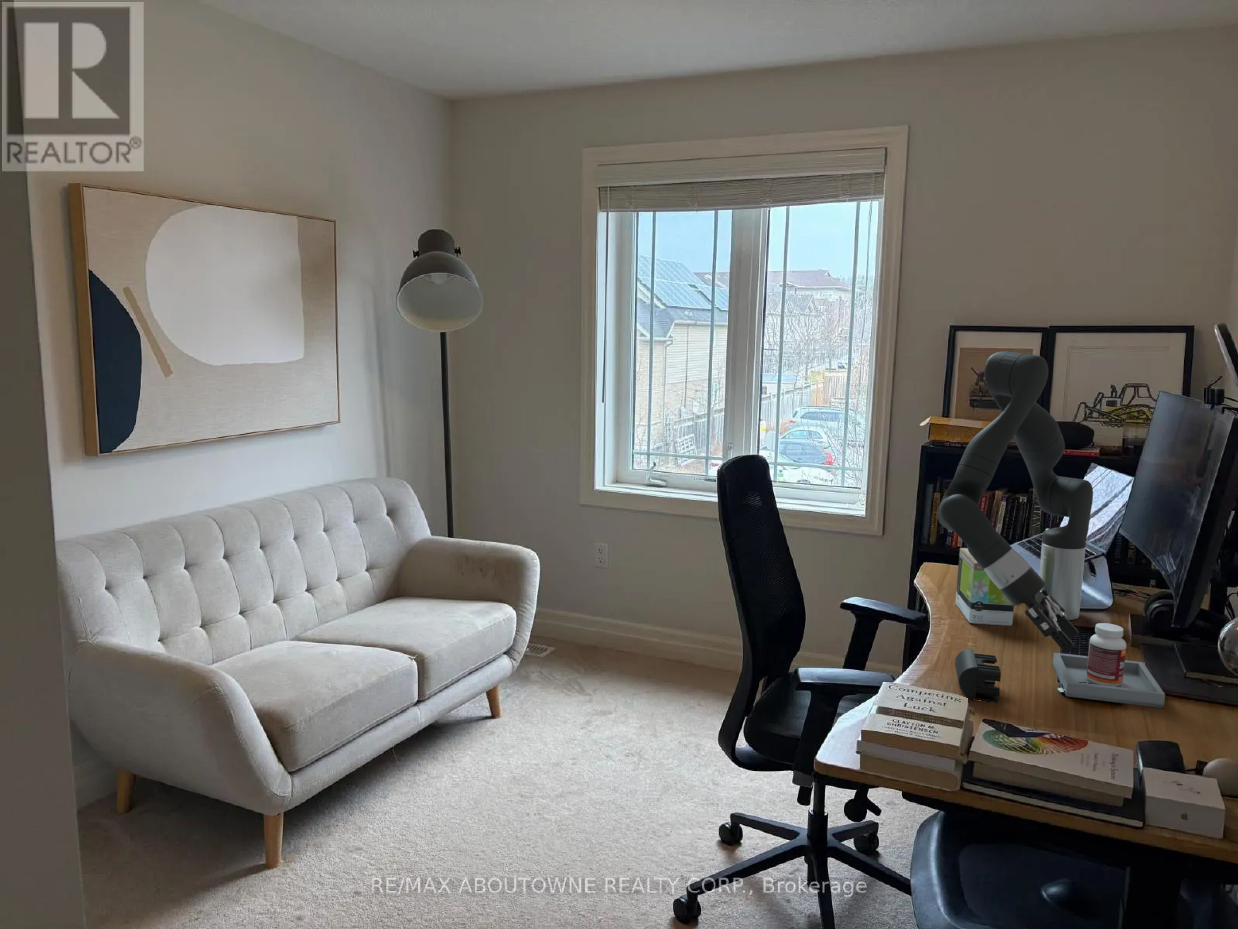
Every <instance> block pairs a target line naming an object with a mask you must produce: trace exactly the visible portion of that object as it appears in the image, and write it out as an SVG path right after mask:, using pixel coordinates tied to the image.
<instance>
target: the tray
mask: <svg viewBox="0 0 1238 929" xmlns="http://www.w3.org/2000/svg"><path fill="white" fill-rule="evenodd" d="M1087 663H1088V655H1079V654H1078V655H1077V654H1069V653H1061V652H1060V653H1059V652H1053V658H1052V666H1053V669H1054V670H1055V671H1054V672H1055V673H1056V676H1057V678H1058V681H1059V682H1060V685H1061V684H1063V686H1064V689H1065V692H1064V694H1065V696H1066V697H1071V698H1078V699H1087V700H1094V701H1102V702H1112V703H1120V704H1129V705H1137V706H1144V707H1152V708H1160V709H1164V707H1165V698H1166V693H1165V692H1164V691H1163V689H1162V688H1161V686H1160V685H1159V683H1158V682H1157V680H1156V679H1155V678H1154V676H1153V675H1152V673H1151V672H1150V671H1149V669H1148V667H1146V665H1145V663H1144V662H1142V661H1136V660H1135V661H1134V660H1126V659H1125V663H1124V672H1123V681H1122V684H1121V685H1120V686H1118V687H1114V686H1105V685H1097V684H1094V683H1092V682H1090V681H1089V680H1088V679H1087V677H1086V672H1087ZM1079 682H1086V683H1079ZM1088 683H1091V684H1088Z"/></svg>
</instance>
